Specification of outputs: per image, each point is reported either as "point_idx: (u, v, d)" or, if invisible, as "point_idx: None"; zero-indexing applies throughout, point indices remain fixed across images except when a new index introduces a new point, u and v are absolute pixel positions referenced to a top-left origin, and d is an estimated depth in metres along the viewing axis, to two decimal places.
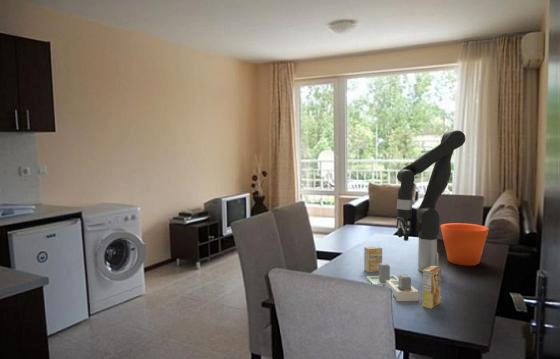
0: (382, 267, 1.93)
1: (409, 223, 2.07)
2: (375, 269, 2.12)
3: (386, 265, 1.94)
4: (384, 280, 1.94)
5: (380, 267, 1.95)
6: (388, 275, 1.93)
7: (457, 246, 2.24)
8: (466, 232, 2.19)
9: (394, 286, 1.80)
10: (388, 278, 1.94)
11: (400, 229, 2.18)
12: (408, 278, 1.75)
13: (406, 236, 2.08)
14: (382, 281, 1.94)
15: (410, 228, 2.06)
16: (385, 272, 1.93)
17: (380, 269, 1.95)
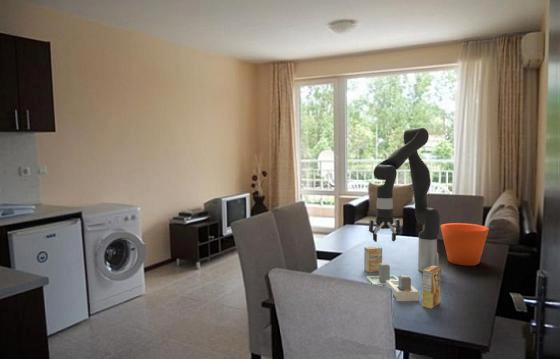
0: (382, 267, 1.93)
1: None
2: (375, 269, 2.12)
3: (386, 265, 1.94)
4: (384, 280, 1.94)
5: (380, 267, 1.95)
6: (388, 275, 1.93)
7: (457, 246, 2.24)
8: (466, 232, 2.19)
9: (394, 286, 1.80)
10: (388, 278, 1.94)
11: None
12: (408, 278, 1.75)
13: None
14: (382, 281, 1.94)
15: None
16: (385, 272, 1.93)
17: (380, 269, 1.95)
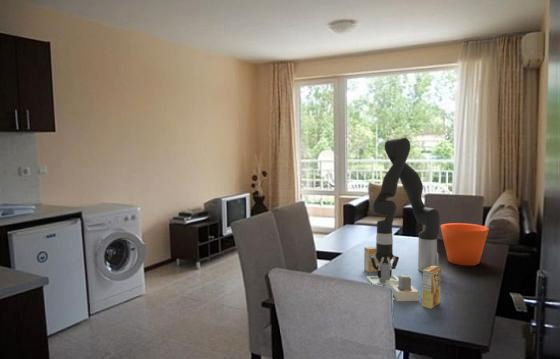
0: (382, 267, 1.93)
1: None
2: (375, 269, 2.12)
3: (386, 265, 1.94)
4: (384, 280, 1.94)
5: None
6: (388, 275, 1.93)
7: (457, 246, 2.24)
8: (466, 232, 2.19)
9: (394, 286, 1.80)
10: (388, 278, 1.94)
11: None
12: (408, 278, 1.75)
13: None
14: (382, 281, 1.94)
15: None
16: (385, 272, 1.93)
17: None
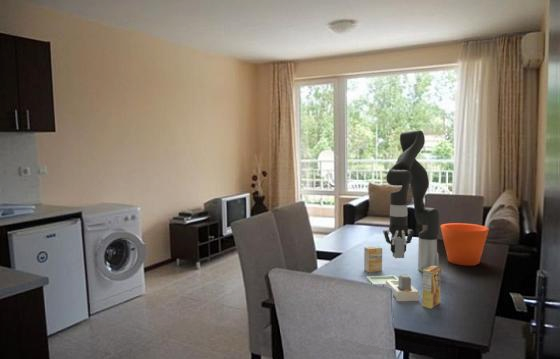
0: (396, 241, 1.81)
1: None
2: (375, 269, 2.12)
3: (400, 239, 1.82)
4: (398, 255, 1.82)
5: None
6: (403, 250, 1.82)
7: (457, 246, 2.24)
8: (466, 232, 2.19)
9: (394, 286, 1.80)
10: (402, 253, 1.82)
11: None
12: (408, 278, 1.75)
13: None
14: (396, 256, 1.82)
15: None
16: (399, 246, 1.82)
17: None
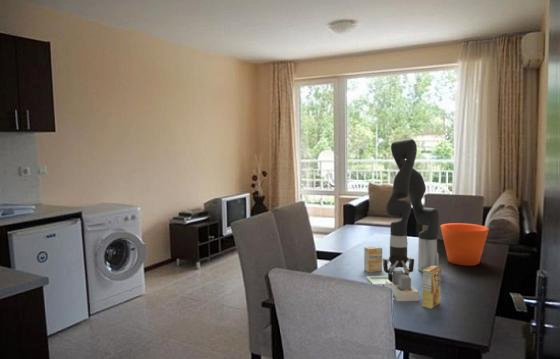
0: (396, 274, 1.82)
1: None
2: (375, 269, 2.12)
3: (400, 272, 1.83)
4: None
5: (394, 274, 1.84)
6: None
7: (457, 246, 2.24)
8: (466, 232, 2.19)
9: (394, 286, 1.80)
10: None
11: None
12: (408, 278, 1.75)
13: None
14: None
15: None
16: None
17: (394, 276, 1.84)
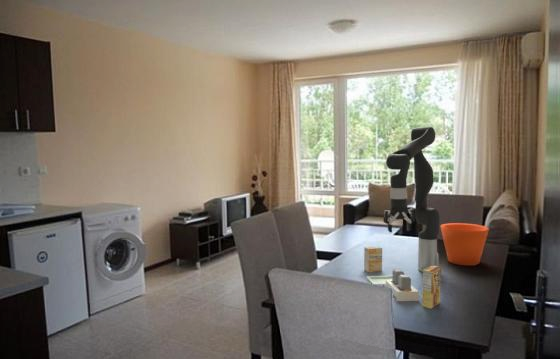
0: (396, 274, 1.82)
1: None
2: (375, 269, 2.12)
3: (400, 272, 1.83)
4: None
5: (394, 274, 1.84)
6: None
7: (457, 246, 2.24)
8: (466, 232, 2.19)
9: (394, 286, 1.80)
10: None
11: None
12: (408, 278, 1.75)
13: None
14: None
15: None
16: None
17: (394, 276, 1.84)
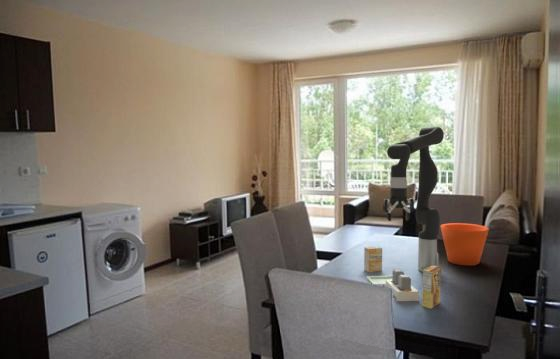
0: (396, 274, 1.82)
1: None
2: (375, 269, 2.12)
3: (400, 272, 1.83)
4: None
5: (394, 274, 1.84)
6: None
7: (457, 246, 2.24)
8: (466, 232, 2.19)
9: (394, 286, 1.80)
10: None
11: None
12: (408, 278, 1.75)
13: None
14: None
15: None
16: None
17: (394, 276, 1.84)
